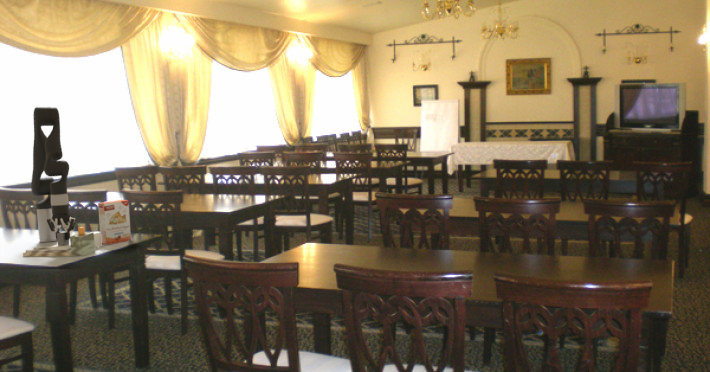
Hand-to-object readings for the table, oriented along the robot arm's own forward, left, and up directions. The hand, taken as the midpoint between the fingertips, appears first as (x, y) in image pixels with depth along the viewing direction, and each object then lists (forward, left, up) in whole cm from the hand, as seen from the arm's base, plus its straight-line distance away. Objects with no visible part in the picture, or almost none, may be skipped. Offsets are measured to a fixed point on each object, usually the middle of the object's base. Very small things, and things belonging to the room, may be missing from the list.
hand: (63, 239), depth 301 cm
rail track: (0, -3, -7) cm, 7 cm away
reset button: (0, +10, +1) cm, 10 cm away
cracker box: (-26, +13, -7) cm, 30 cm away
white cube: (-16, +7, -7) cm, 19 cm away
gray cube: (0, 0, -4) cm, 4 cm away
